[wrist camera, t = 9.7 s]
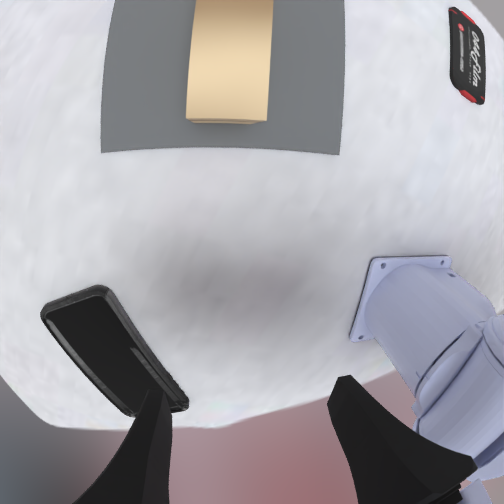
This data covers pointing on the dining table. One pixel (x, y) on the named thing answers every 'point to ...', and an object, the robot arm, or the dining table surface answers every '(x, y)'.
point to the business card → (467, 56)
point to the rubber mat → (177, 68)
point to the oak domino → (230, 61)
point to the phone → (109, 349)
